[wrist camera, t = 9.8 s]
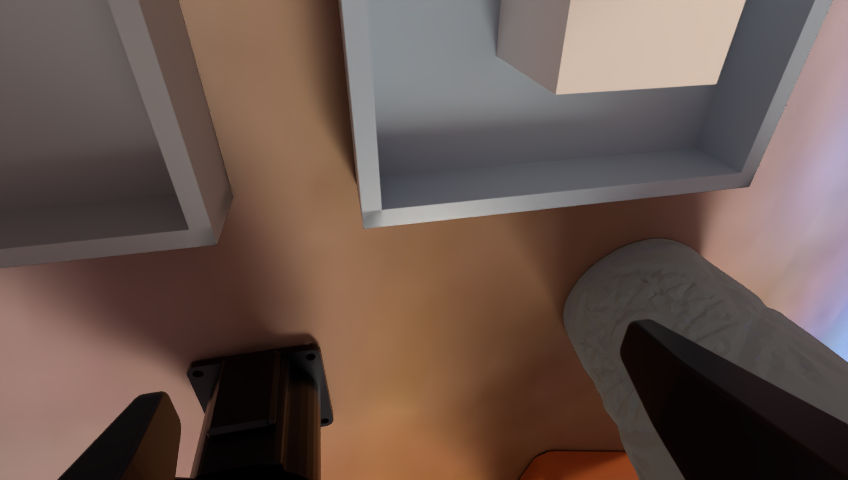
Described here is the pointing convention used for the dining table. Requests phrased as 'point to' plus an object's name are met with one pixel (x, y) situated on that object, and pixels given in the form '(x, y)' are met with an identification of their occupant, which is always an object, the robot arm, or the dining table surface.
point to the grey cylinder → (688, 337)
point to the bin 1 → (103, 133)
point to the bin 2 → (547, 115)
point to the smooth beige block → (617, 42)
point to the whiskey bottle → (581, 466)
